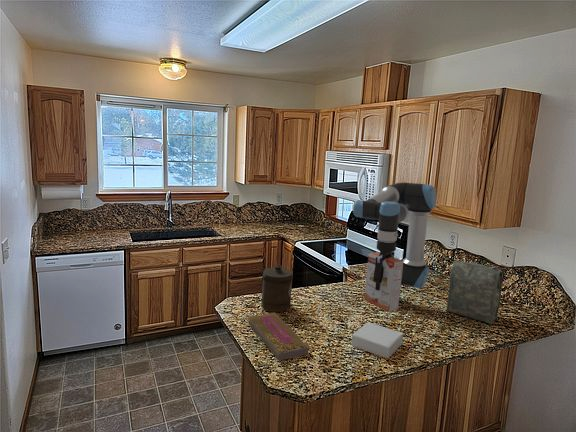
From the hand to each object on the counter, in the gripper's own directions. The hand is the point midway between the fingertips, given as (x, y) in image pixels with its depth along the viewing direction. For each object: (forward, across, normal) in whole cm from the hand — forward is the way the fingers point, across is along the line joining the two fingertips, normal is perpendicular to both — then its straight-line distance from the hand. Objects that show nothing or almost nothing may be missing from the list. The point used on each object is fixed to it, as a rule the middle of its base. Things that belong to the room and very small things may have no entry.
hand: (381, 294), depth 162 cm
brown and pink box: (+23, -24, +35) cm, 48 cm away
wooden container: (+23, +2, +56) cm, 60 cm away
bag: (+22, +62, -24) cm, 70 cm away
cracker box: (+5, 0, 0) cm, 5 cm away
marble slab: (+23, 0, 0) cm, 23 cm away
